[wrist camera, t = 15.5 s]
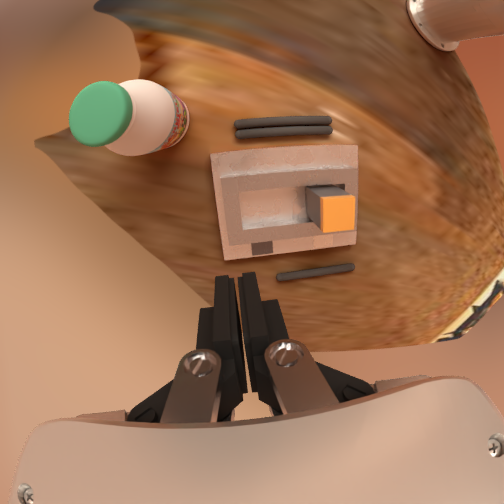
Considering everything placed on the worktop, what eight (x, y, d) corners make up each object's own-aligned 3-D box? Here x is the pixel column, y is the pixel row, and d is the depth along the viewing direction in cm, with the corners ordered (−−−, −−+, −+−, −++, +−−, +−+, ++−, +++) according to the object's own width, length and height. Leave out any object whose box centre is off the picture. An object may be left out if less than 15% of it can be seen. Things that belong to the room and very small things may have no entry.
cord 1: (235, 139, 34) (235, 139, 33) (233, 120, 33) (233, 119, 31) (331, 134, 34) (334, 134, 33) (329, 116, 33) (333, 116, 32)
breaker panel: (210, 153, 34) (209, 155, 31) (353, 144, 35) (364, 146, 32) (224, 255, 40) (224, 266, 37) (351, 240, 41) (361, 249, 38)
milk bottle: (137, 153, 33) (57, 181, 15) (132, 100, 30) (48, 79, 12) (192, 144, 33) (154, 158, 15) (188, 89, 30) (146, 45, 12)
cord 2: (275, 279, 43) (277, 283, 42) (275, 272, 42) (276, 276, 41) (352, 268, 44) (355, 271, 42) (353, 261, 43) (356, 265, 42)
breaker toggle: (305, 186, 35) (323, 199, 29) (333, 184, 36) (355, 196, 29) (306, 214, 37) (323, 232, 31) (333, 212, 37) (354, 229, 31)
